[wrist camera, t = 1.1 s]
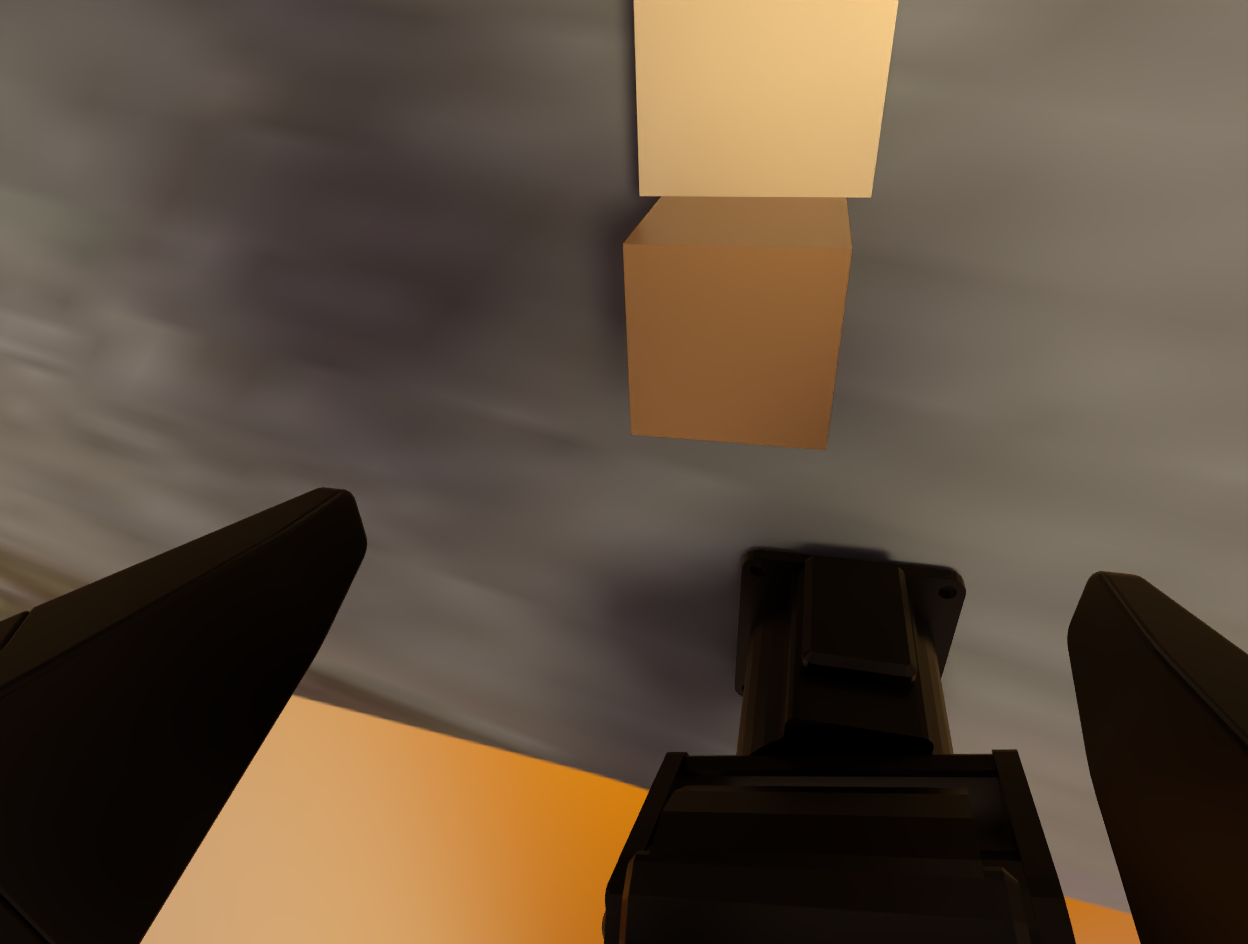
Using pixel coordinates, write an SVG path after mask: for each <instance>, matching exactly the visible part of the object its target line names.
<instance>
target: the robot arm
mask: <svg viewBox="0 0 1248 944" xmlns="http://www.w3.org/2000/svg"><path fill="white" fill-rule="evenodd" d="M366 549H367V537H366V534H365V530H364V527H363V523H362V520H361V517H360V513H359V510H358V507H357V503H356V500H355V498H354V496H353V495H352V494H351V492H349V491H347V490H344V489H335V488H325V487H322V488H317V489H314V490H312V491H310V492H307V493H305V494H303V495H300V496H298V497H295V498H293V499H291V500H288V501H286V502H284V503H281V504H279V505H276V506H274V507H272V508H269V509H267V510H264V511H262V512H260V513H257V514H255V515H253V516H250V517H248V518H245V519H243V520H241V521H238V522H236V523H234V524H231V525H229V526H226V527H224V528H222V529H219V530H217V531H214V532H212V533H210V534H207V535H205V536H203V537H200V538H198V539H195V540H193V541H191V542H188V543H186V544H184V545H181V546H179V547H176V548H174V549H172V550H169V551H167V552H164V553H162V554H160V555H157V556H155V557H153V558H150V559H148V560H145V561H143V562H141V563H138V564H136V565H134V566H131V567H129V568H126V569H124V570H122V571H119V572H117V573H114V574H112V575H110V576H107V577H105V578H103V579H100V580H98V581H95V582H93V583H91V584H88V585H86V586H84V587H81V588H79V589H76V590H74V591H72V592H69V593H67V594H64V595H62V596H60V597H57V598H55V599H53V600H50V601H48V602H45V603H43V604H41V605H38V606H36V607H34V608H33V609H32V610H31V611H30V612H29V611H24V612H21V613H19V614H16V615H14V616H12V617H9V618H7V619H5V620H2V621H0V944H140V943H141V941H142V939H143V938H144V936H145V934H146V933H147V931H148V929H149V928H150V926H151V925H152V923H153V921H154V920H155V918H156V916H157V915H158V913H159V912H160V910H161V908H162V907H163V905H164V903H165V902H166V900H167V898H168V897H169V895H170V893H171V892H172V890H173V889H174V887H175V885H176V884H177V882H178V880H179V879H180V877H181V876H182V874H183V872H184V870H185V869H186V867H187V866H188V864H189V863H190V861H191V859H192V858H193V856H194V854H195V853H196V851H197V849H198V848H199V846H200V844H201V843H202V841H203V840H204V838H205V836H206V835H207V833H208V831H209V830H210V828H211V827H212V825H213V823H214V822H215V820H216V818H217V817H218V815H219V814H220V812H221V810H222V808H223V807H224V805H225V804H226V802H227V800H228V799H229V797H230V796H231V794H232V792H233V791H234V789H235V787H236V786H237V784H238V782H239V781H240V779H241V777H242V776H243V774H244V773H245V771H246V769H247V768H248V766H249V764H250V763H251V761H252V759H253V758H254V756H255V755H256V753H257V751H258V750H259V748H260V746H261V745H262V743H263V742H264V740H265V738H266V737H267V735H268V733H269V732H270V730H271V729H272V727H273V725H274V724H275V722H276V720H277V719H278V717H279V715H280V714H281V712H282V711H283V709H284V707H285V706H286V704H287V702H288V701H289V699H290V698H291V696H292V694H293V693H294V691H295V689H296V688H297V686H298V684H299V683H300V681H301V680H302V678H303V676H304V675H305V673H306V671H307V670H308V668H309V666H310V665H311V663H312V661H313V660H314V658H315V656H316V654H317V653H318V651H319V649H320V647H321V645H322V643H323V641H324V639H325V638H326V636H327V634H328V632H329V630H330V627H331V625H332V623H333V621H334V619H335V617H336V615H337V613H338V611H339V609H340V607H341V605H342V602H343V600H344V598H345V596H346V594H347V592H348V590H349V588H350V586H351V584H352V582H353V579H354V577H355V575H356V573H357V571H358V569H359V567H360V565H361V563H362V561H363V559H364V556H365V553H366ZM754 564H760V565H763V566H764V568H756V567H754V566H753V565H754ZM944 586H952V587H953V588H951V589H948V590H943V589H940V588H942V587H944ZM965 595H966V588H965V584H964V580H963V579H962V577H961V576H960V575H959V574H957V573H956V572H952V571H948V570H939V569H930V568H921V567H912V566H903V565H894V564H884V563H875V562H866V561H857V560H848V559H839V558H830V557H821V556H812V555H803V554H794V553H784V552H775V551H766V550H753V551H750V552H748V553H747V554H746V555H745V556H744V559H743V565H742V577H741V593H740V610H739V626H738V642H737V659H736V675H735V690H736V692H737V693H738V694H739V695H741V696H742V697H743V701H742V710H741V718H740V727H739V736H738V744H737V753H736V755H717V756H689V755H688V753H687V752H667V754H666V756H665V758H664V760H663V762H662V764H661V767H660V769H659V771H658V773H657V775H656V778H655V779H654V782H653V784H652V786H651V788H650V791H649V793H648V795H647V797H646V800H645V802H644V804H643V806H642V808H641V811H640V813H639V815H638V817H637V820H636V822H635V824H634V826H633V828H632V830H631V833H630V835H629V837H628V839H627V841H626V844H625V846H624V848H623V850H622V852H621V855H620V857H619V860H618V862H617V864H616V867H615V869H614V871H613V873H612V875H611V878H610V880H609V882H608V885H607V888H606V893H605V907H606V911H605V913H604V916H603V921H602V934H603V938H604V944H1076V943H1075V938H1074V934H1073V930H1072V925H1071V922H1070V918H1069V914H1068V910H1067V907H1066V903H1065V899H1064V896H1063V892H1062V889H1061V886H1060V882H1059V879H1058V876H1057V873H1056V869H1055V866H1054V863H1053V860H1052V857H1051V854H1050V851H1049V848H1048V845H1047V841H1046V838H1045V835H1044V832H1043V829H1042V826H1041V823H1040V820H1039V817H1038V813H1037V810H1036V807H1035V804H1034V801H1033V798H1032V795H1031V792H1030V789H1029V785H1028V782H1027V779H1026V776H1025V773H1024V770H1023V767H1022V764H1021V761H1020V757H1019V754H1018V751H1017V750H992V754H953V748H952V742H951V736H950V730H949V724H948V719H947V713H946V707H945V701H944V695H943V689H942V683H941V677H942V674H943V670H944V667H945V664H946V660H947V657H948V653H949V650H950V646H951V643H952V640H953V636H954V633H955V629H956V626H957V623H958V619H959V616H960V612H961V609H962V606H963V602H964V599H965ZM1067 643H1068V651H1069V657H1070V663H1071V669H1072V674H1073V680H1074V686H1075V692H1076V698H1077V704H1078V709H1079V715H1080V721H1081V727H1082V733H1083V739H1084V745H1085V750H1086V756H1087V761H1088V766H1089V771H1090V775H1091V779H1092V783H1093V786H1094V790H1095V794H1096V797H1097V801H1098V804H1099V807H1100V810H1101V814H1102V817H1103V820H1104V824H1105V827H1106V830H1107V834H1108V837H1109V840H1110V844H1111V847H1112V850H1113V854H1114V857H1115V860H1116V864H1117V867H1118V870H1119V873H1120V877H1121V880H1122V883H1123V887H1124V890H1125V893H1126V897H1127V900H1128V903H1129V907H1130V910H1131V913H1132V917H1133V920H1134V923H1135V926H1136V930H1137V933H1138V936H1139V940H1140V943H1141V944H1248V654H1247V653H1245V652H1244V651H1243V650H1241V649H1240V648H1238V647H1237V646H1236V645H1234V644H1233V643H1232V642H1230V641H1229V640H1227V639H1226V638H1225V637H1223V636H1222V635H1221V634H1219V633H1218V632H1216V631H1215V630H1214V629H1212V628H1211V627H1210V626H1208V625H1207V624H1205V623H1204V622H1203V621H1201V620H1200V619H1198V618H1197V617H1196V616H1194V615H1193V614H1192V613H1190V612H1189V611H1187V610H1186V609H1185V608H1183V607H1182V606H1181V605H1179V604H1178V603H1176V602H1175V601H1174V600H1172V599H1171V598H1170V597H1168V596H1167V595H1165V594H1164V593H1163V592H1161V591H1160V590H1159V589H1157V588H1156V587H1154V586H1153V585H1152V584H1150V583H1149V582H1148V581H1146V580H1145V579H1143V578H1141V577H1140V576H1137V575H1133V574H1124V573H1115V572H1105V571H1099V572H1096V573H1094V574H1092V576H1091V577H1090V578H1089V579H1088V581H1087V583H1086V586H1085V588H1084V591H1083V593H1082V595H1081V598H1080V600H1079V603H1078V605H1077V608H1076V610H1075V612H1074V615H1073V617H1072V620H1071V622H1070V625H1069V629H1068V637H1067Z"/></svg>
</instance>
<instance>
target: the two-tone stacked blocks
mask: <svg viewBox="0 0 1248 944" xmlns="http://www.w3.org/2000/svg"><path fill="white" fill-rule="evenodd" d="M897 7H898V0H634V26H635V59H636V92H637V125H638V159H639V192H640V196H661V197H660V199H659V200H658V201H657V202H656V203H655V205H654V206H653V207H652V208H651V210H650V211H649V212H648V213H647V215H646V216H645V217H644V218H643V220H642V221H641V222H640V223H639V225H638V226H637V227H636V228H635V230H634V231H633V232H632V233H631V234H630V236H629V237H628V238H627V239H626V241H625V242H624V243H623V259H624V282H625V305H626V327H627V350H628V373H629V396H630V419H631V435H643V436H656V437H669V438H681V439H694V440H706V441H719V442H732V443H744V444H757V445H769V446H782V447H795V448H807V449H820V450H826V446H827V439H828V431H829V423H830V416H831V408H832V400H833V392H834V385H835V377H836V369H837V362H838V354H839V346H840V339H841V331H842V323H843V316H844V308H845V300H846V292H847V285H848V277H849V269H850V262H851V254H852V243H851V234H850V225H849V216H848V207H847V198H846V197H861V198H871V194H872V187H873V180H874V173H875V166H876V158H877V151H878V144H879V137H880V130H881V122H882V115H883V108H884V101H885V94H886V86H887V79H888V72H889V65H890V58H891V50H892V43H893V36H894V29H895V22H896V14H897Z"/></svg>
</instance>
